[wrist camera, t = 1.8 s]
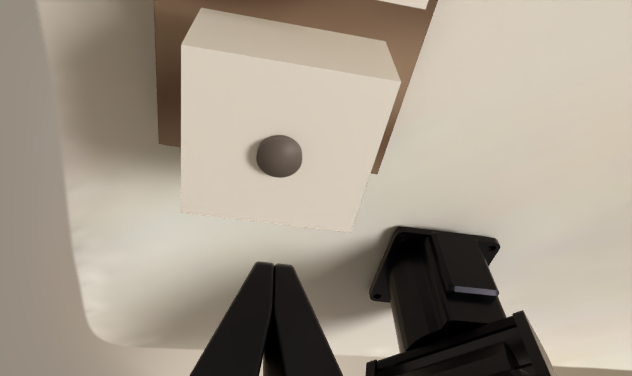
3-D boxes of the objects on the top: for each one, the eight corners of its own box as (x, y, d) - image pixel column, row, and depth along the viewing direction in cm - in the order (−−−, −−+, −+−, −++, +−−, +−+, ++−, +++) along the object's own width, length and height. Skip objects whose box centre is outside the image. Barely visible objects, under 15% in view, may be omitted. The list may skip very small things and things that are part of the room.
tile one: (344, 181, 19) (351, 239, 16) (196, 161, 18) (178, 218, 15) (385, 41, 15) (403, 86, 12) (201, 7, 14) (178, 48, 11)
